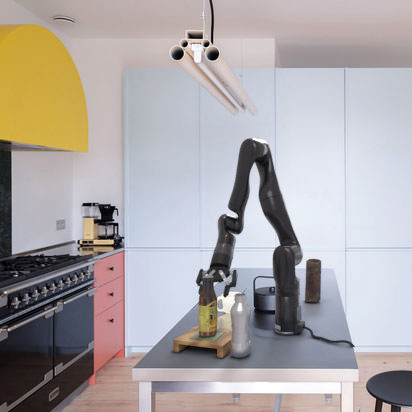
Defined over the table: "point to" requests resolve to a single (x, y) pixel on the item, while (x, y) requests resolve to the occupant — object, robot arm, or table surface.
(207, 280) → the sauce bottle
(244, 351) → the plastic bottle
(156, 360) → the table surface
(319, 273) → the rusty brown cylinder
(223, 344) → the wooden stand
